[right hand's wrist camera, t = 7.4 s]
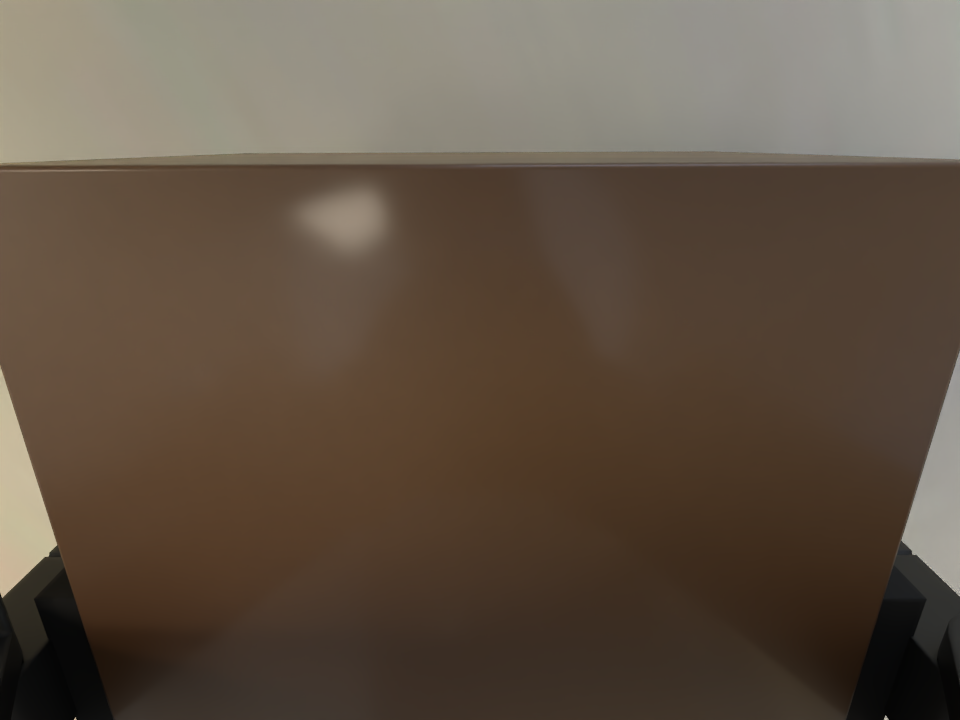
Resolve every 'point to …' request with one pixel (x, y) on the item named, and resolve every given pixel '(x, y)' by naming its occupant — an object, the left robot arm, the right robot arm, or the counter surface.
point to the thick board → (479, 424)
